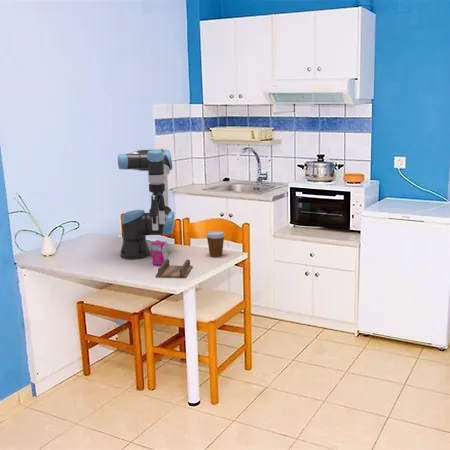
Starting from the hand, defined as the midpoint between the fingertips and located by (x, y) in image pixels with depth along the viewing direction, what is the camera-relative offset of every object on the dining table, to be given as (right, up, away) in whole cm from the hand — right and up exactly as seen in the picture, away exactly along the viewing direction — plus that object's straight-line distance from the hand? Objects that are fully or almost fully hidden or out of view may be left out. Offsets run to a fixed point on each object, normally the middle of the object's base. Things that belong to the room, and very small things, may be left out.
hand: (158, 227), depth 272 cm
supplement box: (0, -18, +4) cm, 19 cm away
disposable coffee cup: (+27, -15, +17) cm, 36 cm away
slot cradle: (+8, -21, -10) cm, 25 cm away
